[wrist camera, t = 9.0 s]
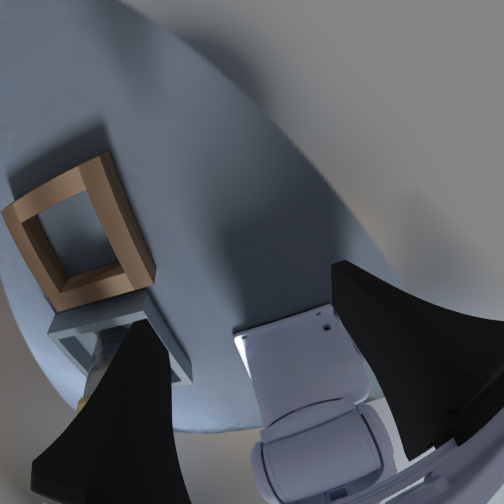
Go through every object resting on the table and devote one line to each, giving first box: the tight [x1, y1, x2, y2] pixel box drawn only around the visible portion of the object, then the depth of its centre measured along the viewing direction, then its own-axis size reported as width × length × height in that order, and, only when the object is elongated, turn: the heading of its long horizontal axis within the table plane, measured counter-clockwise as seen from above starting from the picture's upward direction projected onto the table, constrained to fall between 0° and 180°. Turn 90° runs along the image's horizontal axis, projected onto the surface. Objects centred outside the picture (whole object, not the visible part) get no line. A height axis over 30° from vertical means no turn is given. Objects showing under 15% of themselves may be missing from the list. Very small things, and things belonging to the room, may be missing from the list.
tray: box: [47, 289, 193, 388], centre depth 21 cm, size 10×10×2 cm
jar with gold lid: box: [77, 326, 129, 413], centre depth 17 cm, size 5×5×8 cm
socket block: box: [1, 151, 157, 312], centre depth 15 cm, size 9×9×2 cm
